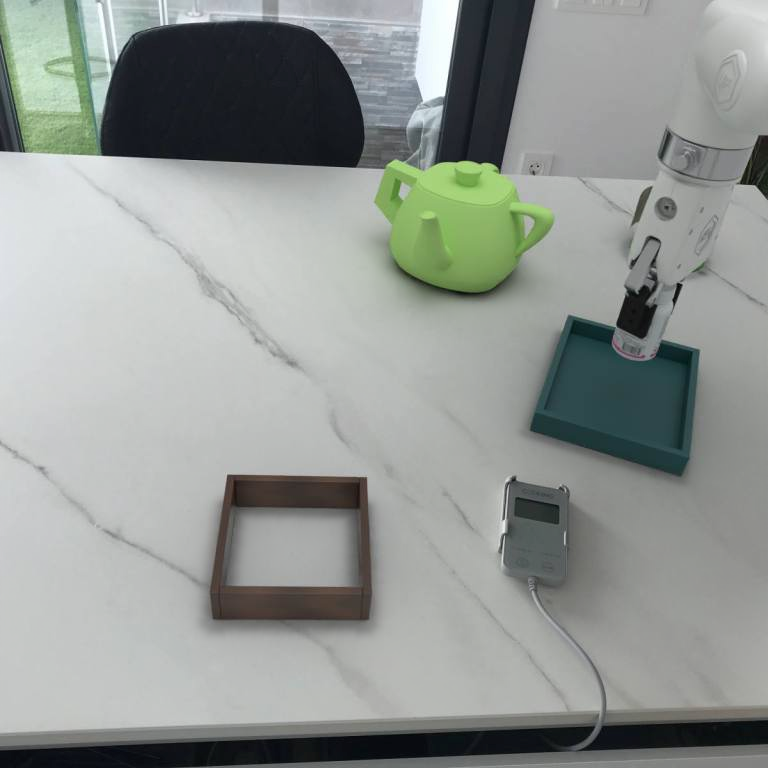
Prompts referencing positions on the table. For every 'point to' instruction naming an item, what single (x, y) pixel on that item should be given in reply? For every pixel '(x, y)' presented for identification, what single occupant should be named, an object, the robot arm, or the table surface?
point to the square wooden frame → (292, 598)
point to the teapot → (458, 223)
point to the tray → (620, 398)
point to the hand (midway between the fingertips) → (643, 319)
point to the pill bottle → (649, 345)
